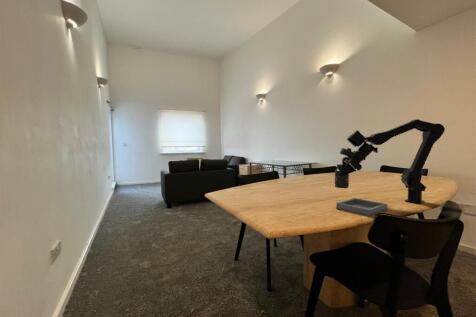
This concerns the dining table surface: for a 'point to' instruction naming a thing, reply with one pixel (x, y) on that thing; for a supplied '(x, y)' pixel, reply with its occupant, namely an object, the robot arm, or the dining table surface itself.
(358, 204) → the slate tray
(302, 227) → the dining table surface
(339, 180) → the supplement bottle
